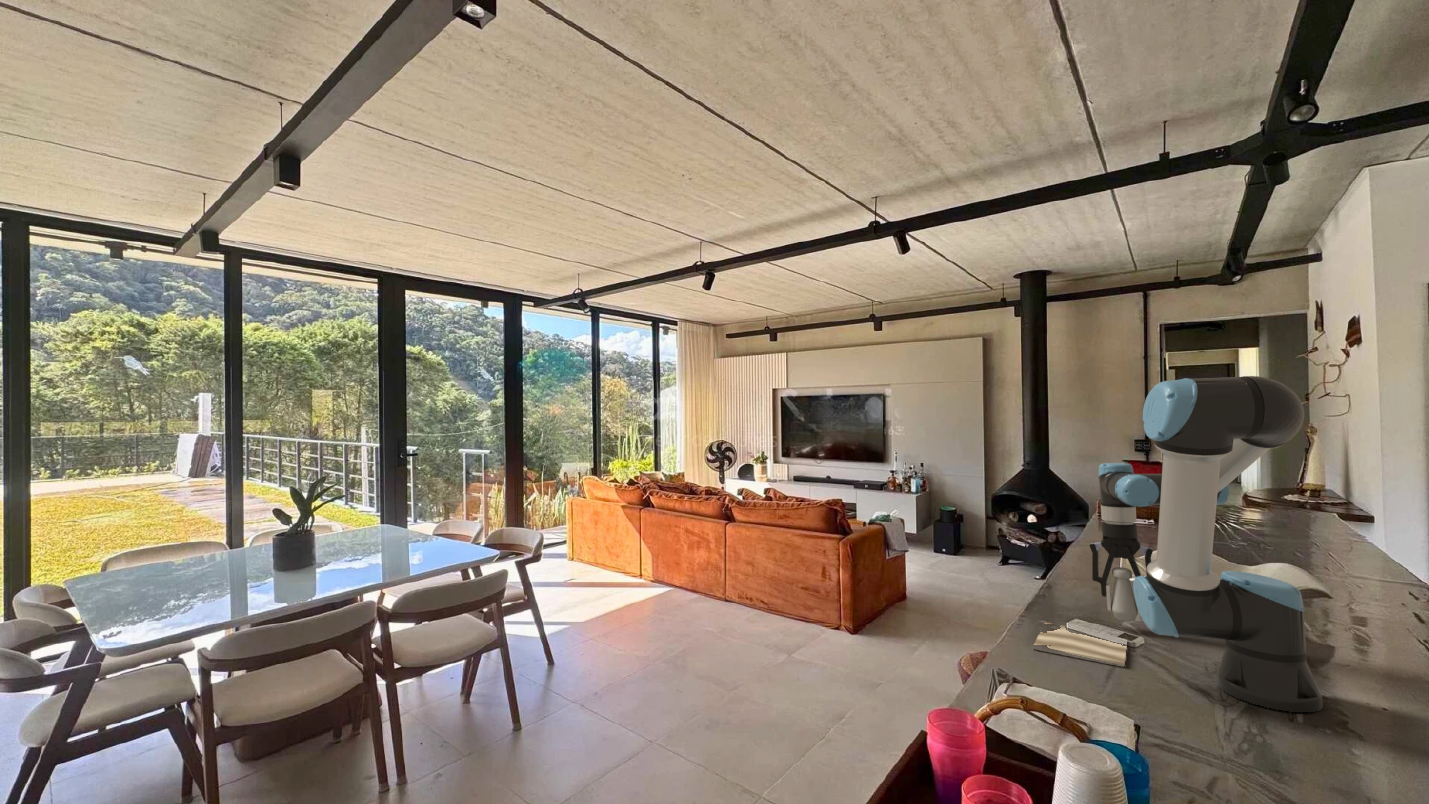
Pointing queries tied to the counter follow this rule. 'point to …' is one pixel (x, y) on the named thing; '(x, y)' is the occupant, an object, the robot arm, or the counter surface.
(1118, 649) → the open book
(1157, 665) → the counter surface
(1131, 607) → the salt shaker
